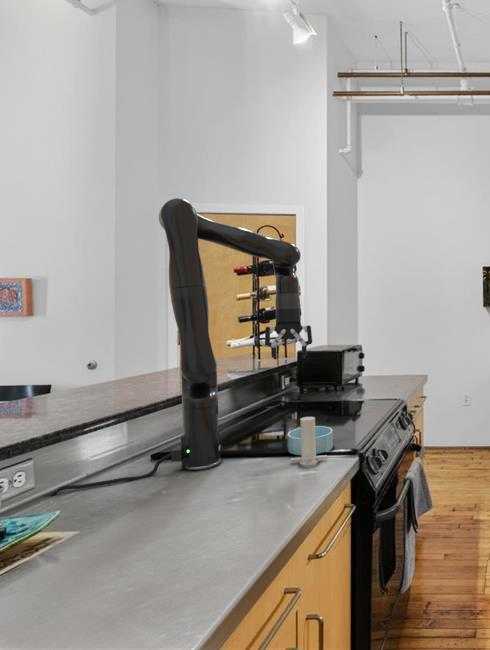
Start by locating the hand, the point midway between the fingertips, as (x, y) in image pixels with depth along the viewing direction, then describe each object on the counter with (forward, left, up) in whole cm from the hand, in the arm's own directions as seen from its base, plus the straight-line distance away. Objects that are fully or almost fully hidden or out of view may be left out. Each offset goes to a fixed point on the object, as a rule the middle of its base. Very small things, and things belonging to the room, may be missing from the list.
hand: (289, 358), depth 149 cm
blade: (+6, -18, -28) cm, 34 cm away
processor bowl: (+6, -5, -28) cm, 29 cm away
